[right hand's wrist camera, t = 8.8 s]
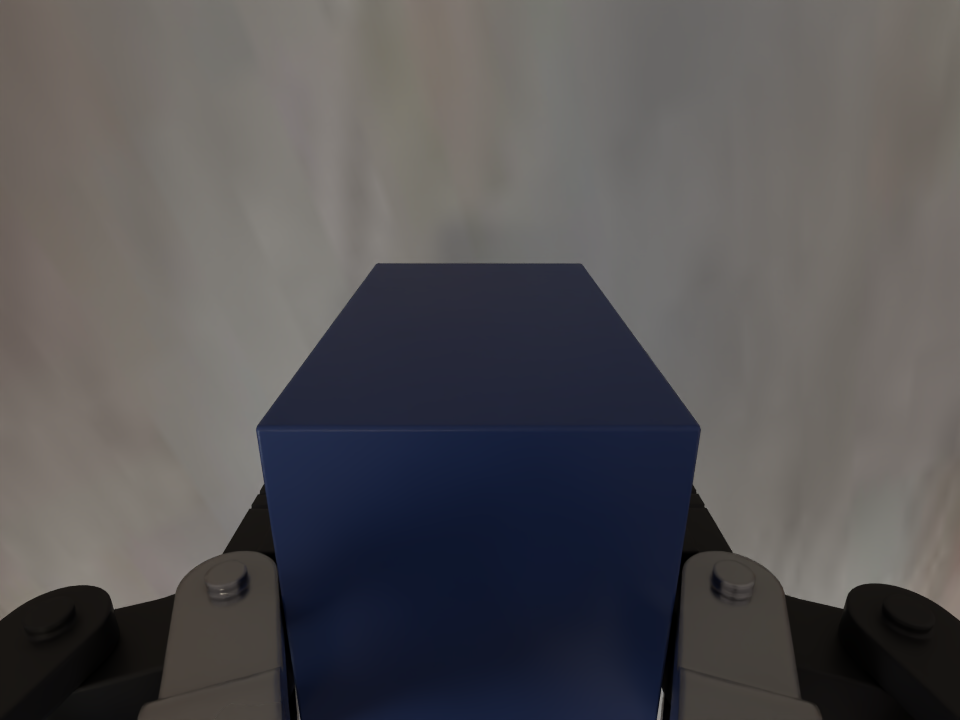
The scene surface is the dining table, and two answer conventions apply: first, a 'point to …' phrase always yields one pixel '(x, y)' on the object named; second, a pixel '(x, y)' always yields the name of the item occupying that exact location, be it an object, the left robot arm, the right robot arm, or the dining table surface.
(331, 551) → the bar
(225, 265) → the dining table surface
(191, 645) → the right robot arm
